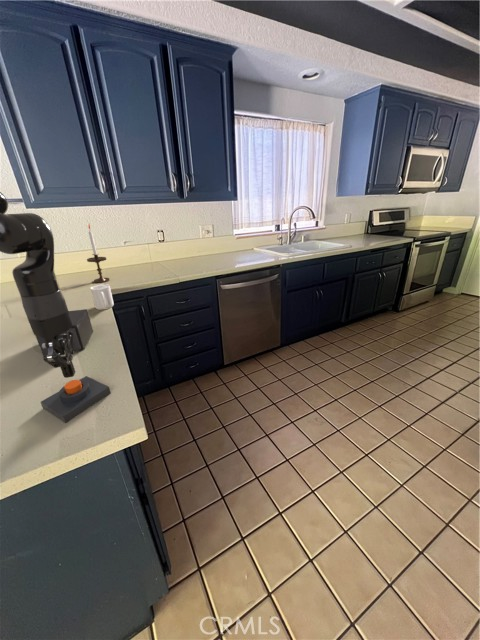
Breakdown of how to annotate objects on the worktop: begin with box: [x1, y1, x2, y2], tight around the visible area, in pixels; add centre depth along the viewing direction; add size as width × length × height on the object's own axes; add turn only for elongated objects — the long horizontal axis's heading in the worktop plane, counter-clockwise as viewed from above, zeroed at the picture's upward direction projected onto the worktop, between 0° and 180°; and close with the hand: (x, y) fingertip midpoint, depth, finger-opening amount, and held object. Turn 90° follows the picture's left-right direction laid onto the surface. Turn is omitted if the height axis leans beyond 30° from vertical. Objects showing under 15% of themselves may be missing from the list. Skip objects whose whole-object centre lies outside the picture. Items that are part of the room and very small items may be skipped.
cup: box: [89, 283, 115, 311], centre depth 125 cm, size 8×12×10 cm
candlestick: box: [86, 223, 110, 284], centre depth 163 cm, size 11×11×35 cm
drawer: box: [35, 327, 81, 355], centre depth 91 cm, size 18×11×8 cm, turn 15°
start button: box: [63, 379, 82, 394], centre depth 67 cm, size 4×4×2 cm
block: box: [40, 375, 112, 424], centre depth 68 cm, size 12×10×4 cm
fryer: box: [37, 308, 94, 356], centre depth 95 cm, size 15×13×10 cm
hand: (70, 375), depth 65 cm, fingers closed
